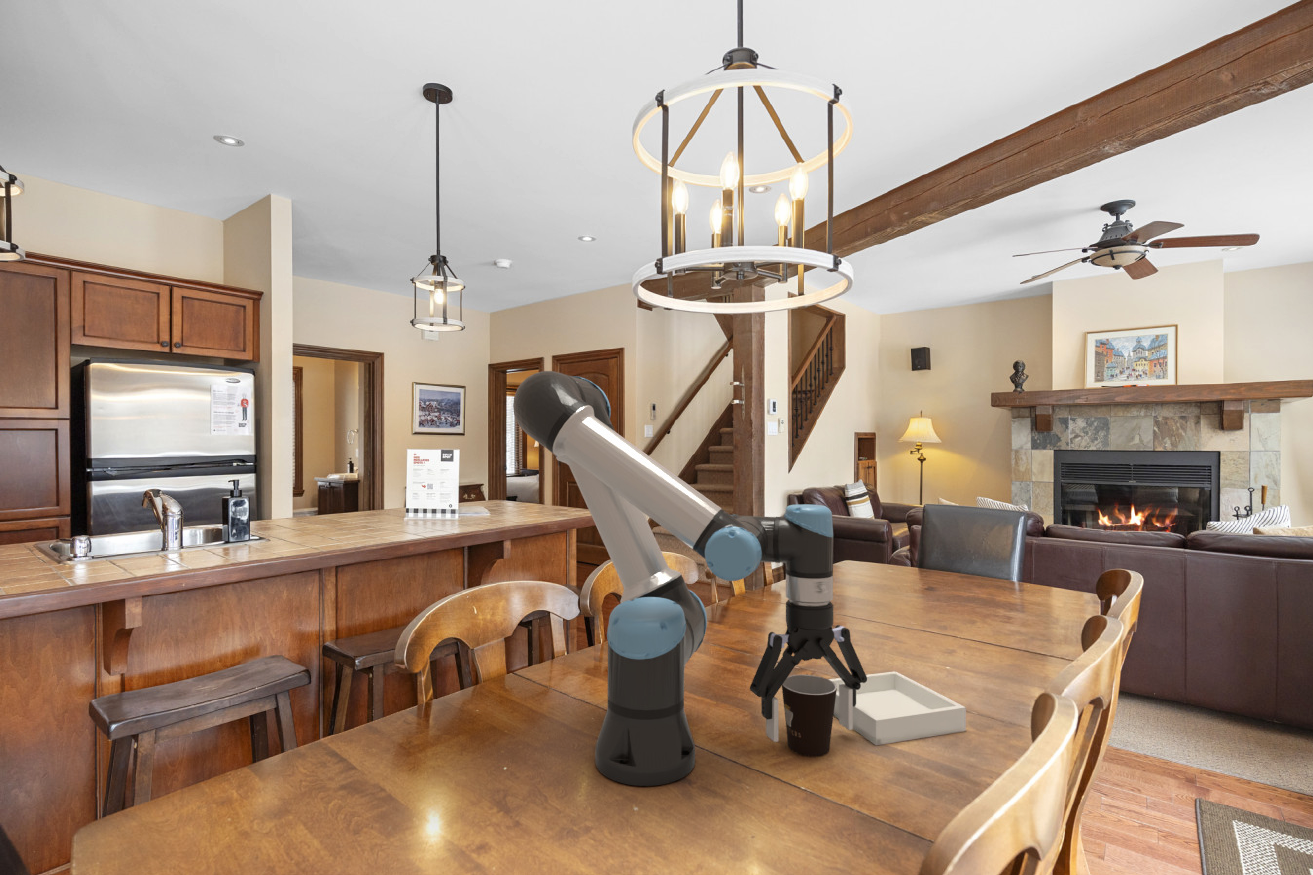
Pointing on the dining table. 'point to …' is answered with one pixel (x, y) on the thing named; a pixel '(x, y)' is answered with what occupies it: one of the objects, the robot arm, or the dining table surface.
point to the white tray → (901, 710)
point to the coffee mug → (809, 713)
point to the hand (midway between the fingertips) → (809, 732)
